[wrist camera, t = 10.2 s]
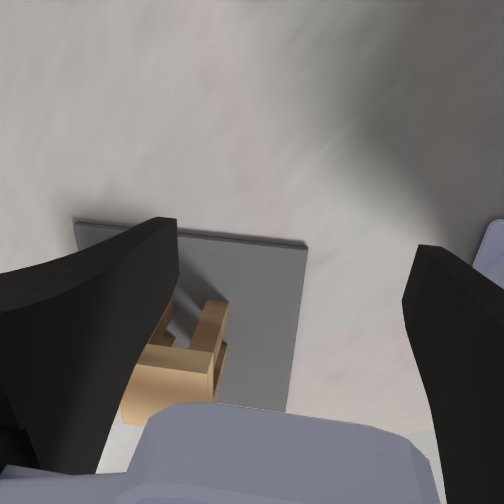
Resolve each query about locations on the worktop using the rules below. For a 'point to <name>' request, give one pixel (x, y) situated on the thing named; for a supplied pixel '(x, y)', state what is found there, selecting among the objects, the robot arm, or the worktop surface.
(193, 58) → the worktop surface
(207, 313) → the tan notched block
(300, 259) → the mat
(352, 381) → the worktop surface
